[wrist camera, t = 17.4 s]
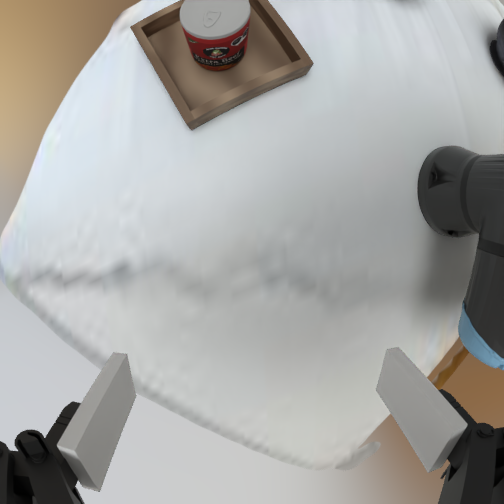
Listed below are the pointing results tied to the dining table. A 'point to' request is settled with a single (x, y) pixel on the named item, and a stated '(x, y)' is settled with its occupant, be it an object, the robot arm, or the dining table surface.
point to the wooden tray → (225, 81)
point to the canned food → (216, 31)
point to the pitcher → (498, 48)
